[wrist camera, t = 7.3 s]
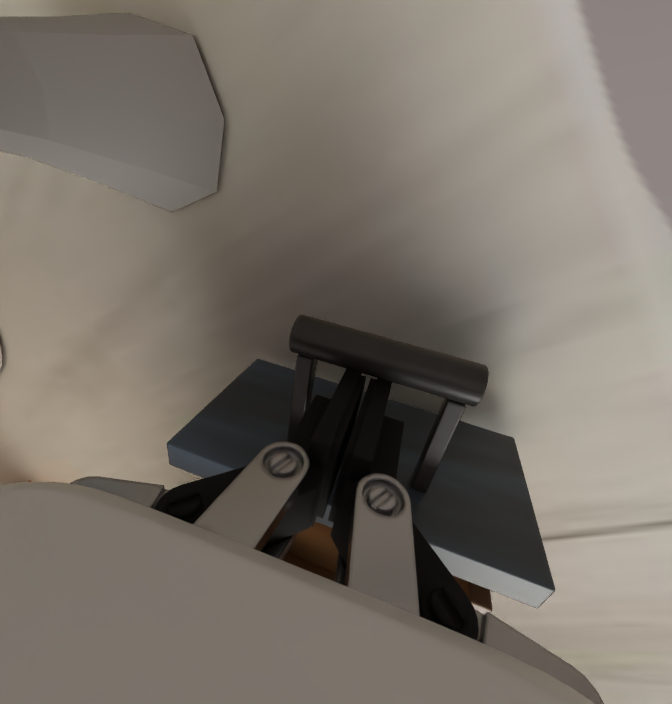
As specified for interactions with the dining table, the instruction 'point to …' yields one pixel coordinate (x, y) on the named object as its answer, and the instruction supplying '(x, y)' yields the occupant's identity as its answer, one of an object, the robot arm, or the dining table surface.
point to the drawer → (414, 461)
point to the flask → (111, 104)
